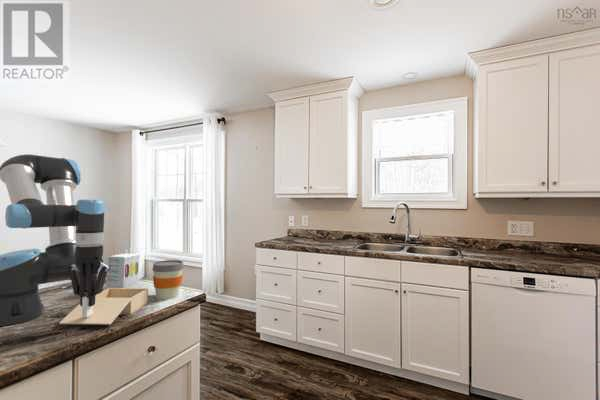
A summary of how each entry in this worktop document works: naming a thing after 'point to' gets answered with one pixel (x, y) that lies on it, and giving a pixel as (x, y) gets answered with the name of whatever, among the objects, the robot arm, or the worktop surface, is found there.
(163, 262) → the reusable coffee cup
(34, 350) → the worktop surface
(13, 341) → the worktop surface
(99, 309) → the lid
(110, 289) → the mailer
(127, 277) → the supplement box
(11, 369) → the worktop surface
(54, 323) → the worktop surface
